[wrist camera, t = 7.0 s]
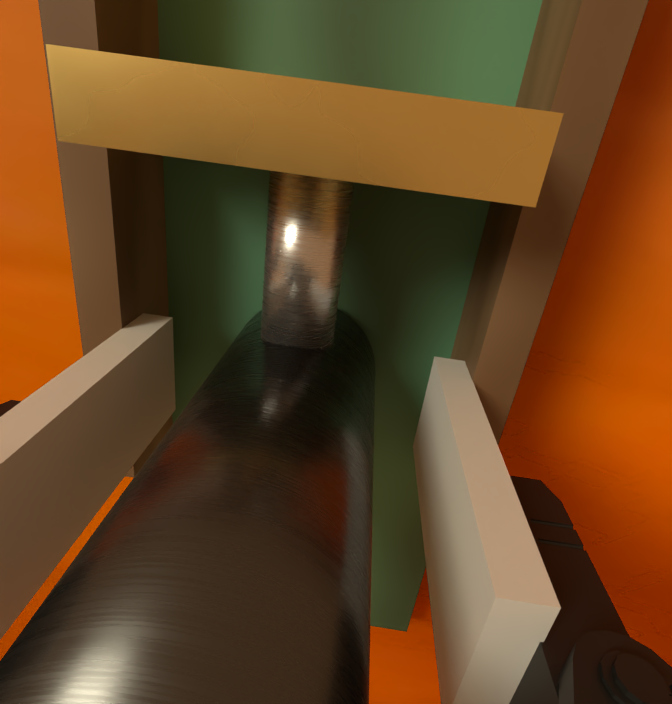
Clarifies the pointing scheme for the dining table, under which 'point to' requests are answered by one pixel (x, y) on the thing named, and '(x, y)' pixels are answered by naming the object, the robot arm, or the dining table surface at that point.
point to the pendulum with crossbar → (256, 397)
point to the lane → (366, 207)
